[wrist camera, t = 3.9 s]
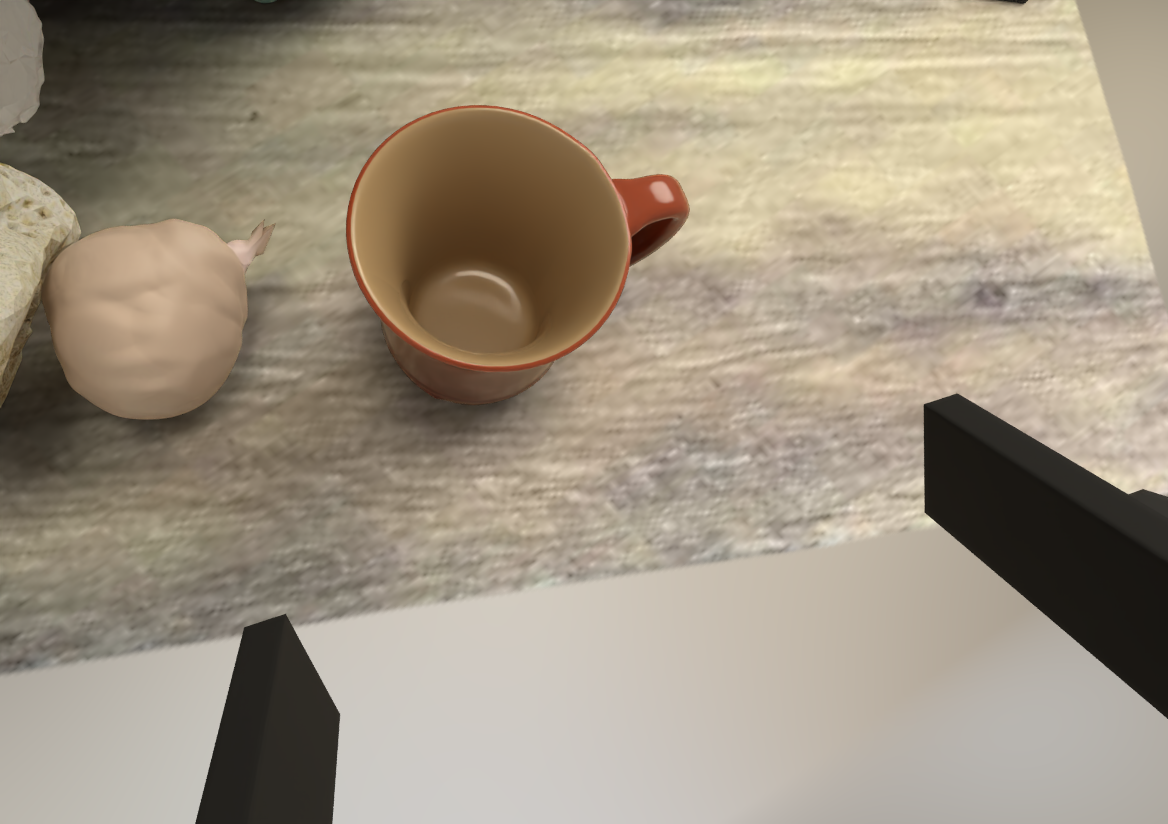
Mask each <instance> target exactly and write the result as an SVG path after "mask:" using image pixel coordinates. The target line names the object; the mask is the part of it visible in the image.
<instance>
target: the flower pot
mask: <svg viewBox="0 0 1168 824" xmlns="http://www.w3.org/2000/svg"><path fill="white" fill-rule="evenodd" d="M255 1H257V2H260V3H271V2H274V1H277V0H255Z"/></svg>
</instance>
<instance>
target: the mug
mask: <svg viewBox="0 0 1168 824" xmlns="http://www.w3.org/2000/svg"><path fill="white" fill-rule="evenodd" d="M689 212H690V208H689V204H688V201H687V198H686V196H685V194H684V191H683V189H682V187H681V185H680V183H679V182H678V181H677V180H676V179H675V178H674V177H672V176H670V175H663V174H656V175H650V176H645V177H640V178H634V179H611V178H610V176H609V174H608V173H607V171H606V170H605V168H604V167H603V165H602V164H601V162H600V161H599V159H598V158H597V157H596V156H595V155H594V154H593V153H592V152H591V151H590V150H589V149H588V148H587V147H586V146H584V145H583V144H582V143H581V142H579V141H578V140H576V139H575V138H574V137H572V136H571V135H569V134H568V133H566V132H565V131H563V130H562V129H560V128H558V127H557V126H555V125H553V124H551V123H549V122H547V121H545V120H543V119H541V118H539V117H536V116H533V115H531V114H528V113H525V112H522V111H518V110H514V109H510V108H504V107H498V106H487V105H469V106H458V107H453V108H447V109H443V110H439V111H436V112H432V113H430V114H427V115H425V116H422V117H420V118H418V119H416V120H414V121H412V122H410V123H408V124H406V125H405V126H403V127H402V128H400V129H398V130H397V131H396V132H394V133H393V134H392V135H391V136H389V137H388V138H387V139H386V140H385V141H384V142H383V143H382V144H381V145H380V146H379V147H378V148H377V149H376V150H375V151H374V153H373V154H372V155H371V156H370V158H369V159H368V160H367V162H366V164H365V165H364V167H363V168H362V170H361V172H360V174H359V176H358V178H357V180H356V182H355V185H354V188H353V191H352V193H351V197H350V201H349V205H348V211H347V219H346V239H347V249H348V254H349V259H350V263H351V266H352V269H353V273H354V276H355V278H356V280H357V282H358V285H359V287H360V289H361V291H362V293H363V294H364V296H365V298H366V300H367V301H368V303H369V304H370V306H371V307H372V309H373V310H374V311H375V313H376V314H377V315H378V316H379V318H380V319H381V326H382V331H383V335H384V338H385V341H386V344H387V346H388V348H389V350H390V352H391V354H392V356H393V357H394V359H395V361H396V362H397V363H398V365H399V366H400V368H401V369H402V371H403V372H404V373H405V374H406V375H407V376H408V377H409V378H410V379H411V380H412V381H413V382H414V383H415V384H416V385H417V386H419V387H420V388H421V389H422V390H424V391H425V392H426V393H428V394H429V395H431V396H432V397H434V398H436V399H441V400H446V401H450V402H453V403H458V404H465V405H483V404H490V403H495V402H498V401H502V400H505V399H508V398H511V397H513V396H516V395H518V394H520V393H522V392H523V391H525V390H527V389H528V388H530V387H531V386H533V385H534V384H535V383H536V382H538V381H539V380H540V379H541V378H542V377H543V376H544V375H545V374H546V372H547V371H548V370H549V369H550V367H551V366H552V364H553V363H554V361H555V360H558V359H560V358H562V357H563V356H565V355H567V354H569V353H571V352H572V351H574V350H575V349H577V348H578V347H580V346H581V345H582V344H584V343H585V342H586V341H587V340H588V339H590V338H591V337H592V336H593V335H594V334H595V333H596V332H597V331H598V330H599V329H600V328H601V326H602V325H603V324H604V322H605V321H606V320H607V319H608V317H609V316H610V314H611V313H612V311H613V309H614V308H615V306H616V304H617V302H618V300H619V298H620V296H621V293H622V290H623V288H624V285H625V282H626V278H627V274H628V270H629V267H630V266H632V265H634V264H636V263H637V262H639V261H641V260H642V259H644V258H646V257H647V256H649V255H650V254H652V253H653V252H655V251H656V250H658V249H659V248H660V247H662V246H663V245H664V244H665V243H667V242H668V241H669V240H670V239H671V238H672V237H673V236H674V235H675V234H676V233H677V232H678V231H679V230H680V228H681V227H682V226H683V225H684V223H685V222H686V220H687V219H688V216H689Z"/></svg>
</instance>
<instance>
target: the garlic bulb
mask: <svg viewBox="0 0 1168 824" xmlns="http://www.w3.org/2000/svg"><path fill="white" fill-rule="evenodd" d="M275 224H276V223H275ZM275 224H272V225H270V226H267V227H264V228H263V225H264V220H263V221H262V222H261V223H260V224H259V225H258V226H257V227H256V228H255V229H254V230H253V231H252V234H251V237H250V238H249V240H233V241H230V242H228V243H225V242H224V241H223V240H222V239H221V238H220V237H219V236H218V235H217V234H216V233H215V232H213V231H212V230H210V229H208V228H207V227H205V226H202V225H197V224H193V223H190V222H186V221H182V220H178V219H168V220H165V221H162V222H158V223H152V224H142V225H135V226H116V227H111V228H107V229H103V230H100V231H97V232H95V233H92V234H90V235H88V236H86V237H84V238H82V239H81V240H79V241H77V242H76V243H74V244H72V245H70V246H68V247H67V248H66V249H64V250H63V251H62V252H61V253H60V254H59V255H58V256H57V258H56V259H55V260H54V262H53V263H52V265H51V267H50V268H49V270H48V273H47V275H46V277H45V280H44V283H43V287H42V292H41V298H42V303H43V306H44V309H45V313H46V317H47V320H48V323H49V325H50V328H51V337H52V342H53V346H54V349H55V352H56V355H57V357H58V360H59V362H60V364H61V365H62V368H63V370H64V373H65V376H66V379H67V381H68V383H69V385H70V386H71V387H72V388H73V389H74V390H75V391H76V392H77V393H79V394H80V395H82V396H83V397H84V398H86V399H87V400H88V401H90V402H91V403H93V404H94V405H96V406H97V407H99V408H101V409H102V410H104V411H106V412H108V413H110V414H113V415H115V416H119V417H123V418H130V419H162V418H170V417H174V416H178V415H181V414H184V413H187V412H189V411H191V410H194V409H196V408H197V407H199V406H201V405H202V404H204V403H205V402H206V401H208V400H209V399H210V398H211V397H212V396H213V395H214V394H215V393H216V392H217V391H218V390H219V389H220V387H221V386H222V385H223V384H224V382H225V381H226V379H227V377H228V376H229V374H230V372H231V370H232V368H233V366H234V364H235V361H236V359H237V357H238V354H239V351H240V349H241V346H242V330H243V327H244V324H245V322H246V320H247V312H248V306H247V288H246V283H245V272H246V270H247V266H249V265H250V263H251V262H252V260H253V259H254V258H255V256H258V255H261V254H263V253H264V251H265V248H266V246H267V243H268V241H269V239H270V236H271V234H272V231H273V229H274V226H275Z"/></svg>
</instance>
